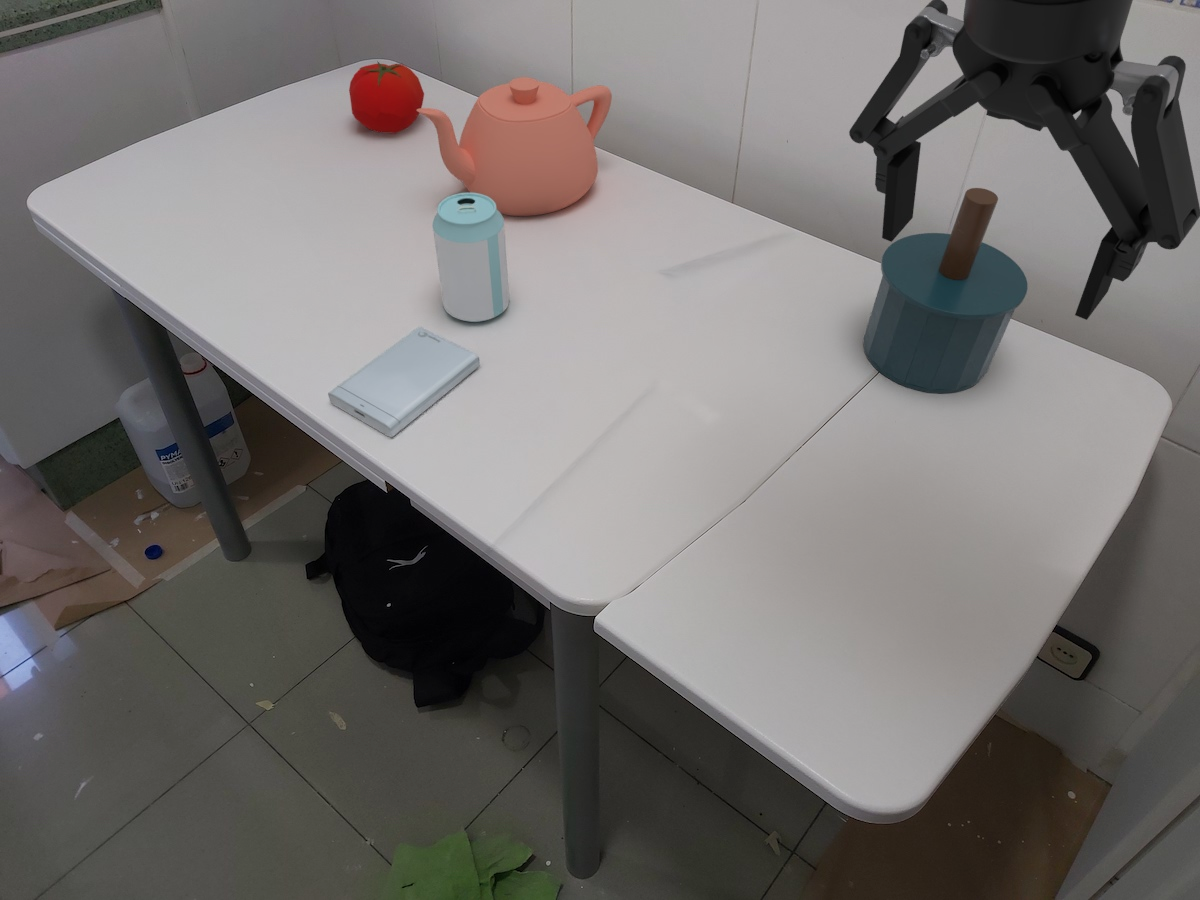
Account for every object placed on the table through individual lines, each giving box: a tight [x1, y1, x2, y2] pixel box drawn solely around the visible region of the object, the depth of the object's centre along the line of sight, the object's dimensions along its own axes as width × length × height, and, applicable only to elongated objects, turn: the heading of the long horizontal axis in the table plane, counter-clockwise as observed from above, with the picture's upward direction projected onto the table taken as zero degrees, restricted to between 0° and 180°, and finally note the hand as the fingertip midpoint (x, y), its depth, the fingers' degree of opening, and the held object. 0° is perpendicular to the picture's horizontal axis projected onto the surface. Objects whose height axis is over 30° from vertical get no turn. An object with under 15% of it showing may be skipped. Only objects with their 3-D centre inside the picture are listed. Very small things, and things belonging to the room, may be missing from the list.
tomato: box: [348, 60, 425, 134], centre depth 120 cm, size 9×10×8 cm
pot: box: [862, 275, 1016, 394], centre depth 87 cm, size 12×12×10 cm
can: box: [432, 192, 510, 323], centre depth 91 cm, size 7×7×12 cm
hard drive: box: [327, 326, 481, 438], centre depth 85 cm, size 2×8×12 cm
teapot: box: [417, 76, 613, 217], centre depth 107 cm, size 25×17×13 cm
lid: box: [880, 187, 1028, 319], centre depth 81 cm, size 13×13×9 cm
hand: (988, 264), depth 59 cm, fingers open, 13 cm apart
